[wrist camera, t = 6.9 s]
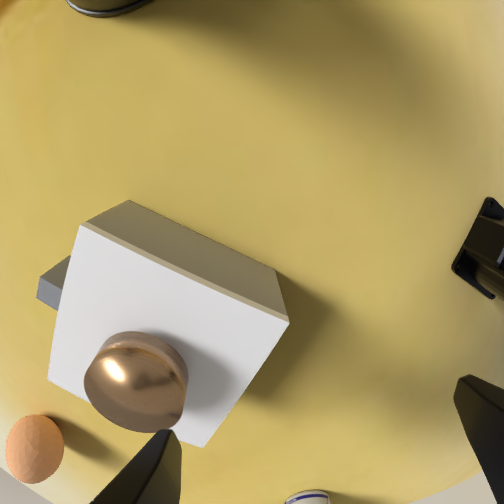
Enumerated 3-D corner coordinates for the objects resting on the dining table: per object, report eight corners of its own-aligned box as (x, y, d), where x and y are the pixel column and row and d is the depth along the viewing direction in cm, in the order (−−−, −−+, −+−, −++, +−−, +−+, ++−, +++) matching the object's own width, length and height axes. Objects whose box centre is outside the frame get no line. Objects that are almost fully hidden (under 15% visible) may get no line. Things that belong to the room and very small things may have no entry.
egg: (75, 446, 26) (51, 504, 18) (30, 426, 25) (1, 478, 17) (71, 415, 24) (40, 479, 16) (22, 392, 23) (-15, 448, 16)
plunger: (222, 291, 20) (212, 383, 12) (190, 353, 21) (170, 451, 13) (144, 255, 19) (86, 326, 11) (120, 321, 20) (69, 406, 12)
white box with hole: (274, 269, 20) (289, 322, 14) (209, 381, 23) (202, 447, 17) (101, 186, 18) (45, 205, 12) (64, 313, 21) (20, 362, 14)
